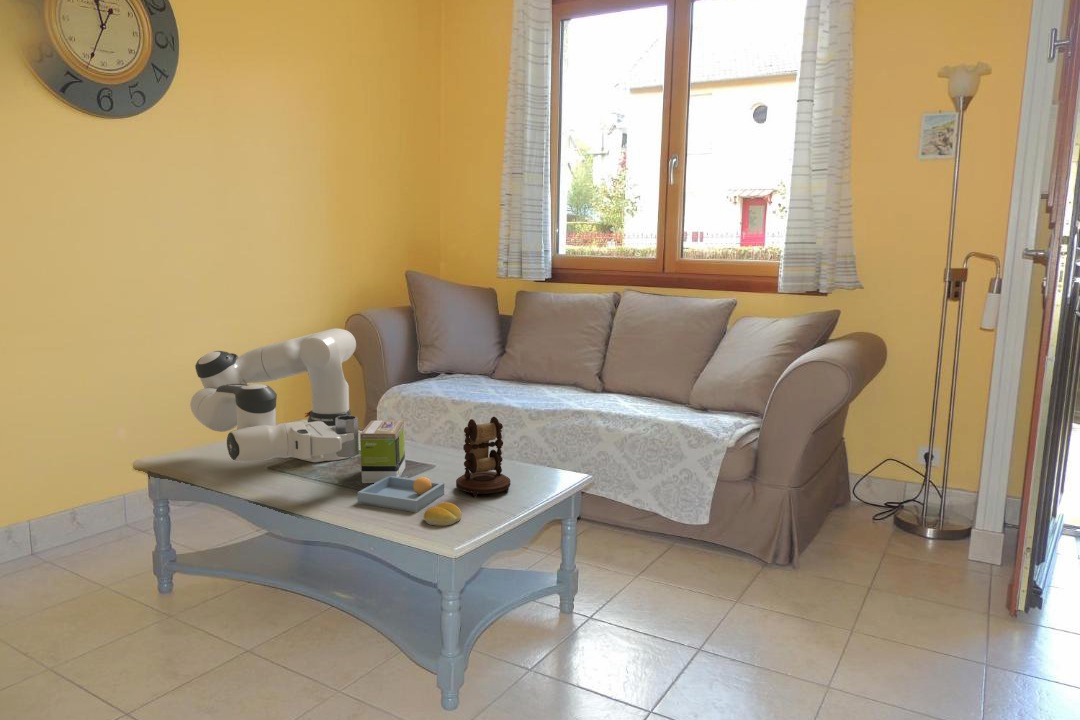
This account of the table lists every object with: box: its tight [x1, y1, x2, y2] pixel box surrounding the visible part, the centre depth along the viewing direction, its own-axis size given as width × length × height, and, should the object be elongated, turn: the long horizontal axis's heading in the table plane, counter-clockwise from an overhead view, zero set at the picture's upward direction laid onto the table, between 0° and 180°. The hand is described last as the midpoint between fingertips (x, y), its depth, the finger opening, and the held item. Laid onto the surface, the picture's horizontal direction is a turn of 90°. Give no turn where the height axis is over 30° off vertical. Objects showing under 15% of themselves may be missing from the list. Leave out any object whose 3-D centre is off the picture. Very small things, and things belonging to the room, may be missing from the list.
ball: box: [413, 476, 432, 495], centre depth 201 cm, size 5×5×5 cm
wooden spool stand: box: [455, 416, 511, 498], centre depth 207 cm, size 15×15×20 cm
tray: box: [357, 476, 445, 513], centre depth 200 cm, size 17×15×3 cm
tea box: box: [359, 420, 406, 484], centre depth 218 cm, size 15×10×15 cm, turn 1°
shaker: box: [335, 414, 360, 458], centre depth 203 cm, size 5×5×10 cm
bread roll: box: [423, 501, 463, 527], centre depth 185 cm, size 8×9×4 cm
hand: (349, 433), depth 203 cm, fingers closed on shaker, 5 cm apart
